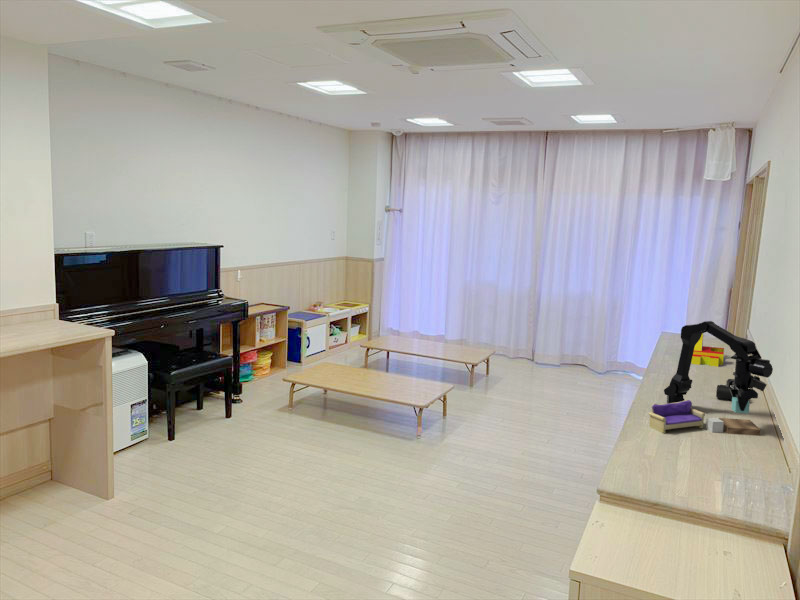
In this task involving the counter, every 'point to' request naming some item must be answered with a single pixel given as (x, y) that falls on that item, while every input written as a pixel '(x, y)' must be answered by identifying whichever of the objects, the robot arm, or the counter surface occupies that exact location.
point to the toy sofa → (675, 416)
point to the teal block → (736, 407)
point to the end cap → (723, 392)
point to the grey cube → (714, 425)
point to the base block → (740, 427)
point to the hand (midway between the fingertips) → (739, 408)
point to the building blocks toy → (707, 354)
